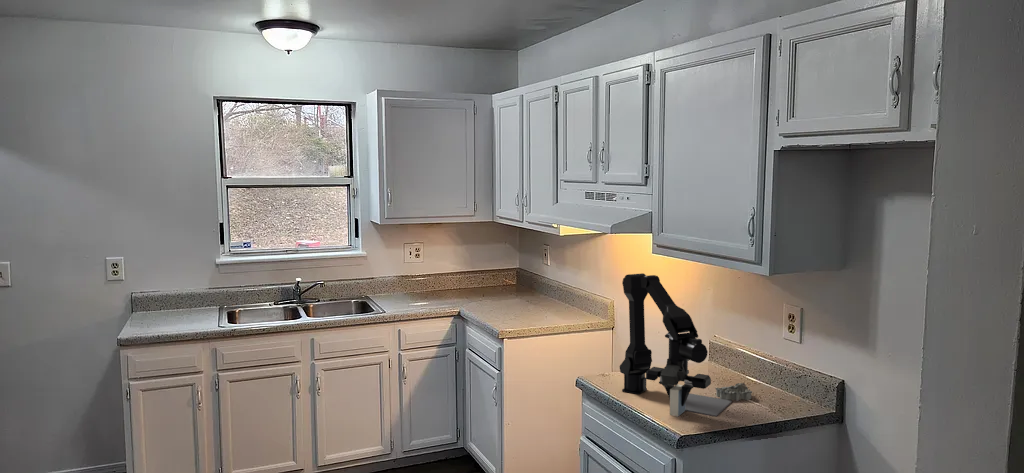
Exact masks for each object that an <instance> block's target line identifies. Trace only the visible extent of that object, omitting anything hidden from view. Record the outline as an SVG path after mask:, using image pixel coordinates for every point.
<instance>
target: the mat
mask: <svg viewBox="0 0 1024 473" xmlns="http://www.w3.org/2000/svg"><path fill="white" fill-rule="evenodd" d="M732 403H733V400H725V399H720V397H712V396H708V395H707V396H706V395H703V394H695V393H689V395H688V397H687V400H686V402H685V411H684V412H690V413H696V414H700V415H705V416H711V417H718V415H720V414H721V413H722V412H723V411H725V409H727V407H728V406H729V405H731V404H732Z"/></svg>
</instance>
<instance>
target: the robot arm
mask: <svg viewBox="0 0 1024 473" xmlns="http://www.w3.org/2000/svg"><path fill="white" fill-rule="evenodd" d="M622 289H623V294H624V296H625V297H626V299H627V300H628V312H629V313H628V317H629V345H628V347H626V350H625V355H624V359H623V361H622V362H621V363H620V365H619V371H620V373H621V374H623V378H624V379H623V388H622V390H621V392H625V393H630V394H635V395H641V394H642V393H644V392H645V391H647V390H648V389H647V380H650V381H654V382H655V381H657V379H658V378H659V381H658V384H659V385H662V387H664V389H665V392H666V393H667V397H668V400H669V401H670V389H671V388H673V387H674V386H676V385H677V384H678V385H679V383H680V382H684V384H682V385H683V386H682V406H684V404H685V402H686V400H687V397H688V395H689V394H691V391H692V389H694V388H695V389H702V390H703V389H707V388H708V387H709V386H710V385H711V384H712V378H711V376H710V375H709V374H702V373H697V374H695V375H694V376H693V375H689V374H690V371H689V368H688V367H689V365H688V364H689V361H691V362H693V363H696V364H700V363H703V362H704V361H705V360H706V359H707V357H708V352H709V351H708V348H707V347H706V345H705V344H703V340H702V339H701V338H699V334H698V330H697V328H696V326H695V324H694V321H693V319H692V317H691V315H690V314H689V313H688V312H687V311H686V310H685V309H683V308H681V307H680V306H678V305H677V304H676V303H675V301H674V300H673V299H672V297H671V296H670V295H669V293H668V291H667V290H666V288H665V287H664V286H663V284H662V283H661V280H660V277H659V276H658V275H656V274H652V275H647V274H645V273H642V272H641V273H632V274H631V273H629V274H626V275H625V276H624V277H623V278H622ZM648 295H649V296H650V297H651V299H652V300H653V303H654V304H655V305H656V307H657V308H658V309H659V311H660V313H661V315H662V323H663V325H664V328H665V330H666V331H667V333H666V334H665V335H664V337H665V338H666V339H668V358H667V359H666V365H665V366H664V367H658V366H652V367H651V365H652V362H653V359H652V354H653V353H652V349H649V347H648V346H647V345H646V331H645V330H646V328H645V324H646V323H645V321H646V320H645V299H646V298H647V296H648Z"/></svg>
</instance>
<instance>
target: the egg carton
mask: <svg viewBox="0 0 1024 473" xmlns="http://www.w3.org/2000/svg"><path fill="white" fill-rule="evenodd" d="M714 389H715V391H716V392H715V396H716V398H719V399H725V400H731V401H736V402H737V401H740V400H745V401H750V400H751V399H752V394H753V393H754V392H753V391H752V390H751V389H749V388H748V386H747V384H746V383H745V382H738V383H735V385H730V386H722V387H714Z"/></svg>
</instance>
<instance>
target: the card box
mask: <svg viewBox="0 0 1024 473" xmlns="http://www.w3.org/2000/svg"><path fill="white" fill-rule="evenodd" d="M683 385H684V384H679V383H678V384H677V385H674V387H673V388H671V389H670V400H669V416H672V417H680V415H682V414H684V412H686V411H685V404H684V406H682V386H683Z"/></svg>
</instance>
